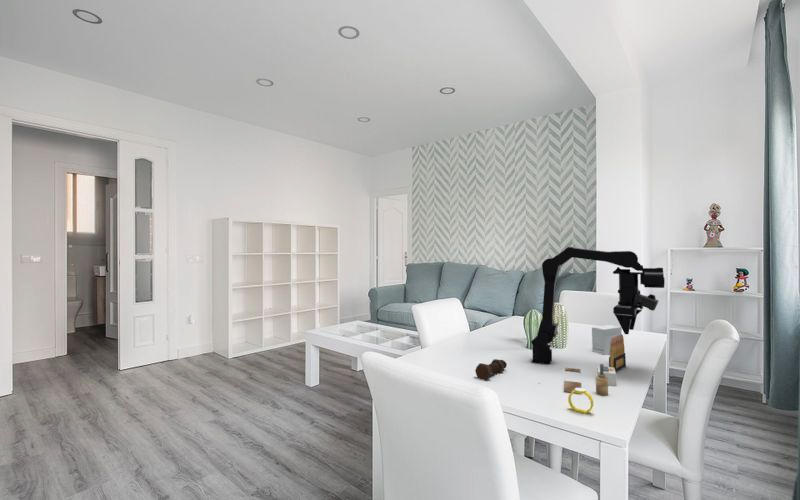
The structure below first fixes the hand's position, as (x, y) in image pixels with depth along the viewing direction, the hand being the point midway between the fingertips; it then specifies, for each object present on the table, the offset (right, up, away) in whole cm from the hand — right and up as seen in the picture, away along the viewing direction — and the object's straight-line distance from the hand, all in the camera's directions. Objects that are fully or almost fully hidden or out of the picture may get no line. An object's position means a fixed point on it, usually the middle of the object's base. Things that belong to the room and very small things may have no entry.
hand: (629, 331), depth 133 cm
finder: (-12, -15, -8) cm, 21 cm away
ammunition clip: (-2, -15, +4) cm, 15 cm away
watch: (-31, -15, -31) cm, 46 cm away
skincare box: (+7, -14, +28) cm, 32 cm away
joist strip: (-23, -14, -7) cm, 28 cm away
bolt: (-47, -15, 0) cm, 49 cm away
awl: (-19, -15, -19) cm, 30 cm away
